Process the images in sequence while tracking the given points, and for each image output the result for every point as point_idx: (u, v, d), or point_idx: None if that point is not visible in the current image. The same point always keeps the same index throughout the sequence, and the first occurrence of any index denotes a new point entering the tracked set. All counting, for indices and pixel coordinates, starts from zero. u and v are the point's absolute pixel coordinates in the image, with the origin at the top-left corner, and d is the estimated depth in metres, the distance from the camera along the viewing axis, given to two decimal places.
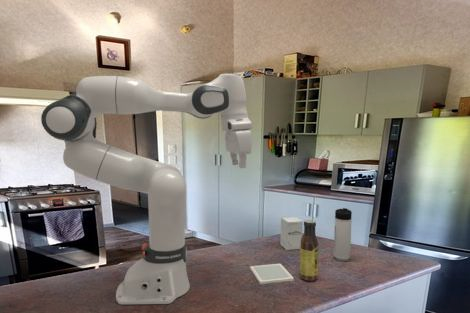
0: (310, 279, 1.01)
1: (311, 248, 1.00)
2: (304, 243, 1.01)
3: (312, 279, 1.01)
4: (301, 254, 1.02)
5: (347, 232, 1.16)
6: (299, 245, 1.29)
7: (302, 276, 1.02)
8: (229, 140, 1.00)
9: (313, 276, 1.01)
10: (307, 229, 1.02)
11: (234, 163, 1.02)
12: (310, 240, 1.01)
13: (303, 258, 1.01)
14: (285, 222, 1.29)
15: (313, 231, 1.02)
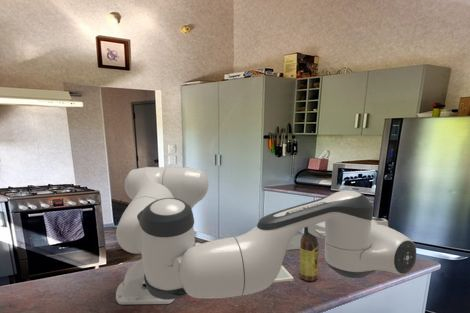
0: (310, 279, 1.01)
1: (311, 248, 1.00)
2: (304, 243, 1.01)
3: (312, 279, 1.01)
4: (301, 254, 1.02)
5: None
6: (299, 245, 1.29)
7: (302, 276, 1.02)
8: None
9: (313, 276, 1.01)
10: (307, 229, 1.02)
11: None
12: (310, 240, 1.01)
13: (303, 258, 1.01)
14: None
15: None
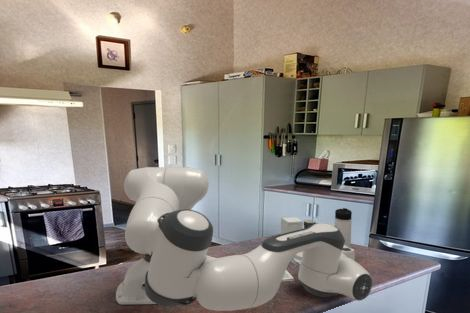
0: None
1: None
2: None
3: None
4: None
5: (347, 232, 1.16)
6: None
7: None
8: None
9: None
10: None
11: None
12: None
13: None
14: (285, 222, 1.29)
15: None
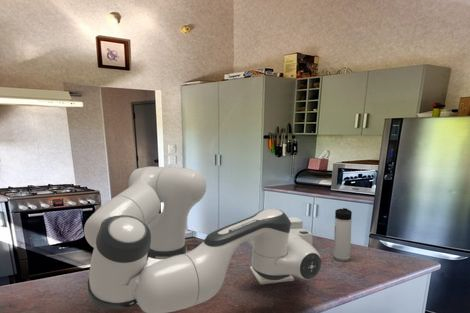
0: None
1: None
2: None
3: None
4: None
5: (347, 232, 1.16)
6: None
7: None
8: None
9: None
10: None
11: None
12: None
13: None
14: None
15: None
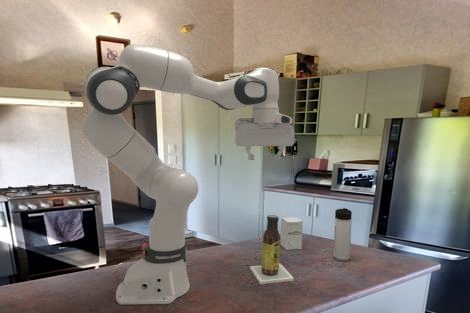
0: (269, 273, 1.02)
1: (271, 242, 1.02)
2: (265, 236, 1.04)
3: (271, 273, 1.02)
4: (262, 247, 1.05)
5: (347, 232, 1.16)
6: (299, 245, 1.29)
7: (262, 269, 1.04)
8: (255, 133, 0.97)
9: (271, 270, 1.02)
10: (269, 223, 1.04)
11: None
12: (270, 234, 1.03)
13: (264, 251, 1.04)
14: (285, 222, 1.29)
15: (275, 226, 1.04)
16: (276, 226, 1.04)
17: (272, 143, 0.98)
